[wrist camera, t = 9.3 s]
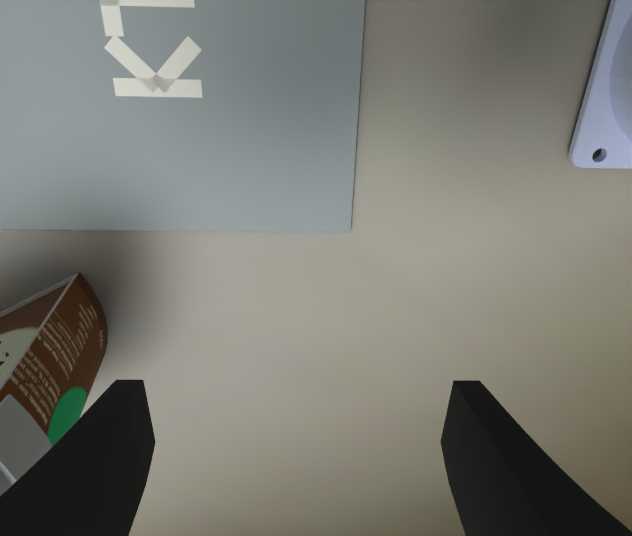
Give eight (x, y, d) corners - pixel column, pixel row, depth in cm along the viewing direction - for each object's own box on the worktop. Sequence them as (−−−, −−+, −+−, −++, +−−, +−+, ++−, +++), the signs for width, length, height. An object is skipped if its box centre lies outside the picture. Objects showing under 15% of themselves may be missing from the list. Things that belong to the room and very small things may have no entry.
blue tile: (379, -238, 13) (380, -242, 13) (349, 231, 20) (350, 233, 20) (-154, -261, 13) (-161, -264, 13) (1, 227, 20) (-2, 229, 20)
